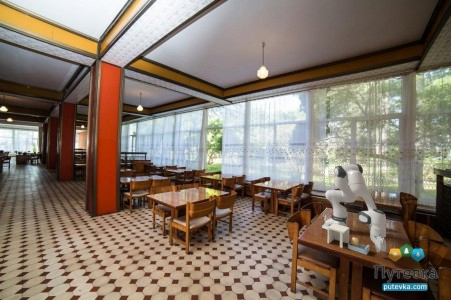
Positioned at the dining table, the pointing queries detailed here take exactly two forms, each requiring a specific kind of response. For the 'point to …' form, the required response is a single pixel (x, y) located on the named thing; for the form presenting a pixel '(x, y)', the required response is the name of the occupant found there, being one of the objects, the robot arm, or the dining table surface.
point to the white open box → (338, 234)
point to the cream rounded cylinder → (355, 242)
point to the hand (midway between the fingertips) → (377, 251)
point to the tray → (361, 249)
